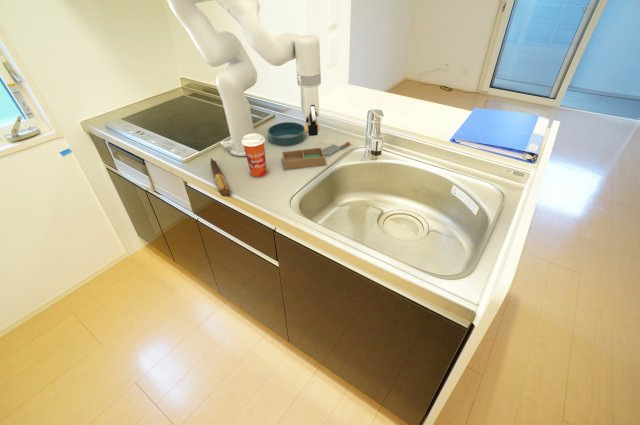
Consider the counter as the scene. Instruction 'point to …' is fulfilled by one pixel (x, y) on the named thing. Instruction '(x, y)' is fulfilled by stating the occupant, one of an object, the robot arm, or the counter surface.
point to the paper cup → (255, 154)
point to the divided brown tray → (303, 158)
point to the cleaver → (333, 149)
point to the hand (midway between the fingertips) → (312, 131)
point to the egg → (307, 127)
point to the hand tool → (220, 180)
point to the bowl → (286, 133)
